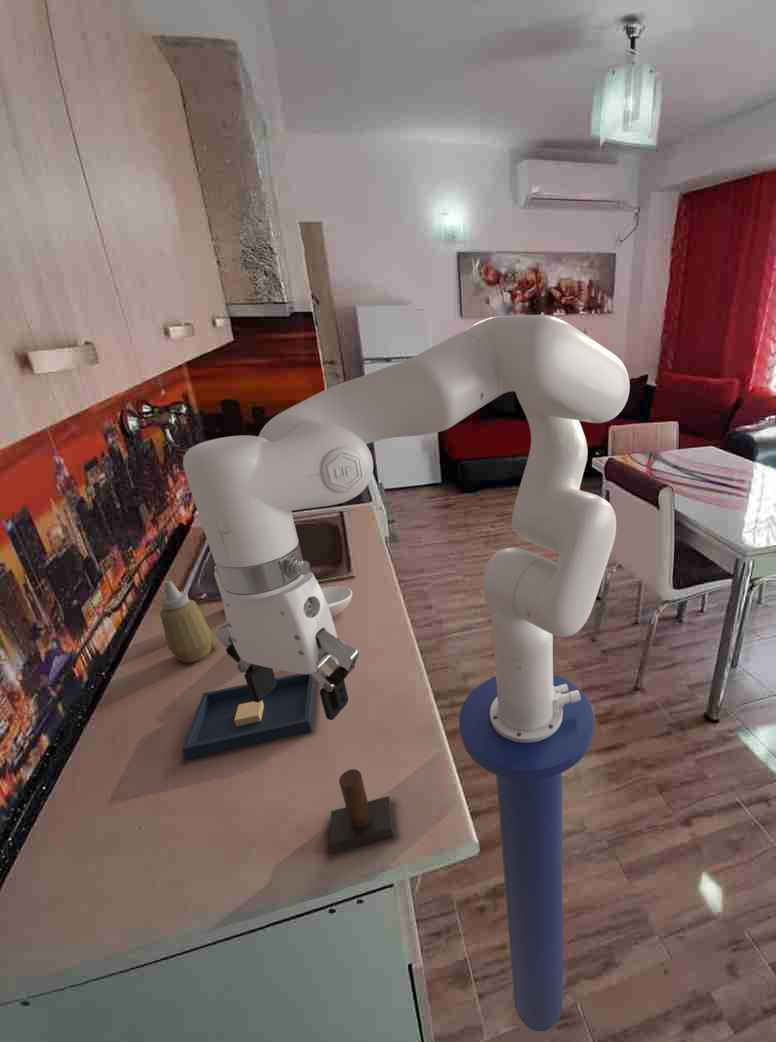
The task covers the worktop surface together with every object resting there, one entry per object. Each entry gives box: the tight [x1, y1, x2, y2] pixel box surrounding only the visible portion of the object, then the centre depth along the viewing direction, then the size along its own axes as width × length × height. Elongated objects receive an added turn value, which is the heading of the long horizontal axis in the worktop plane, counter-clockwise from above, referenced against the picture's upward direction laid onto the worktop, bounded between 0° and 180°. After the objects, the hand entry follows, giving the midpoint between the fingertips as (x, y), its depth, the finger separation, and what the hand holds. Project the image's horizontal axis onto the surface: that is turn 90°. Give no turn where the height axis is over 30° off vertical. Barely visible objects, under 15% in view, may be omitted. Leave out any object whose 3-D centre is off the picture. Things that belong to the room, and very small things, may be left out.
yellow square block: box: [234, 701, 264, 727], centre depth 90 cm, size 4×4×2 cm
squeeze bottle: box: [159, 579, 213, 663], centre depth 105 cm, size 8×8×18 cm
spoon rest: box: [321, 585, 353, 618], centre depth 115 cm, size 24×12×7 cm, turn 11°
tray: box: [181, 673, 317, 761], centre depth 90 cm, size 20×14×2 cm
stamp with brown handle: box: [329, 768, 394, 855], centre depth 68 cm, size 8×5×10 cm, turn 105°
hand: (301, 701), depth 57 cm, fingers open, 9 cm apart
